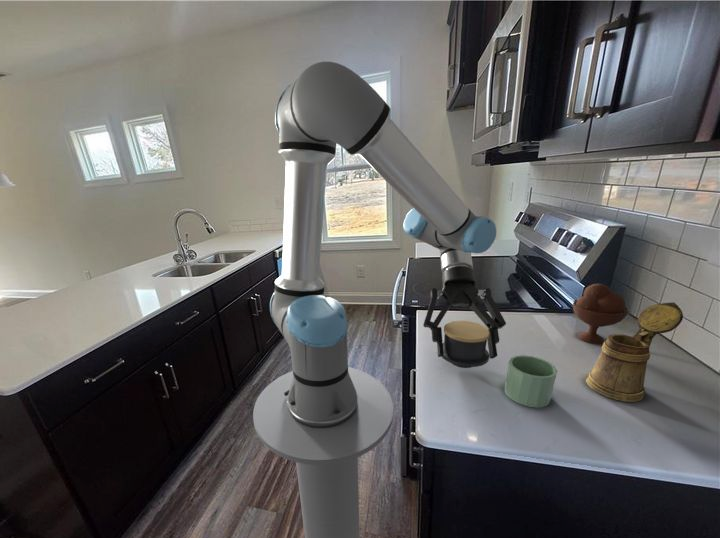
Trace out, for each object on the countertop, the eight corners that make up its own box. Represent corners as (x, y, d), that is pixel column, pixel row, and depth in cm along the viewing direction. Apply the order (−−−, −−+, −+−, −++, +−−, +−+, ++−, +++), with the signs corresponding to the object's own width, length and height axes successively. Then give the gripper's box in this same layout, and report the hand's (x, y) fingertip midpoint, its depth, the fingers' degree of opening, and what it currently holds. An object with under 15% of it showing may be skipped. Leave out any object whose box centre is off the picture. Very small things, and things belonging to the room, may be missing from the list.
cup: (508, 403, 64) (513, 374, 61) (501, 380, 71) (506, 353, 68) (555, 410, 61) (563, 380, 58) (543, 386, 68) (550, 358, 65)
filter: (437, 370, 73) (440, 338, 70) (438, 347, 83) (440, 317, 80) (490, 377, 70) (496, 343, 67) (484, 352, 79) (489, 321, 76)
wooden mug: (672, 392, 64) (706, 310, 57) (620, 406, 61) (649, 321, 55) (623, 368, 72) (648, 294, 65) (575, 380, 69) (596, 304, 63)
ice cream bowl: (563, 341, 84) (576, 288, 79) (567, 326, 92) (580, 277, 87) (617, 353, 78) (635, 296, 72) (616, 335, 86) (633, 283, 80)
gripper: (501, 278, 83) (515, 361, 74) (409, 279, 87) (412, 358, 78) (512, 263, 76) (529, 353, 67) (412, 265, 80) (416, 350, 71)
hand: (466, 356), depth 73 cm, fingers closed on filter, 11 cm apart
